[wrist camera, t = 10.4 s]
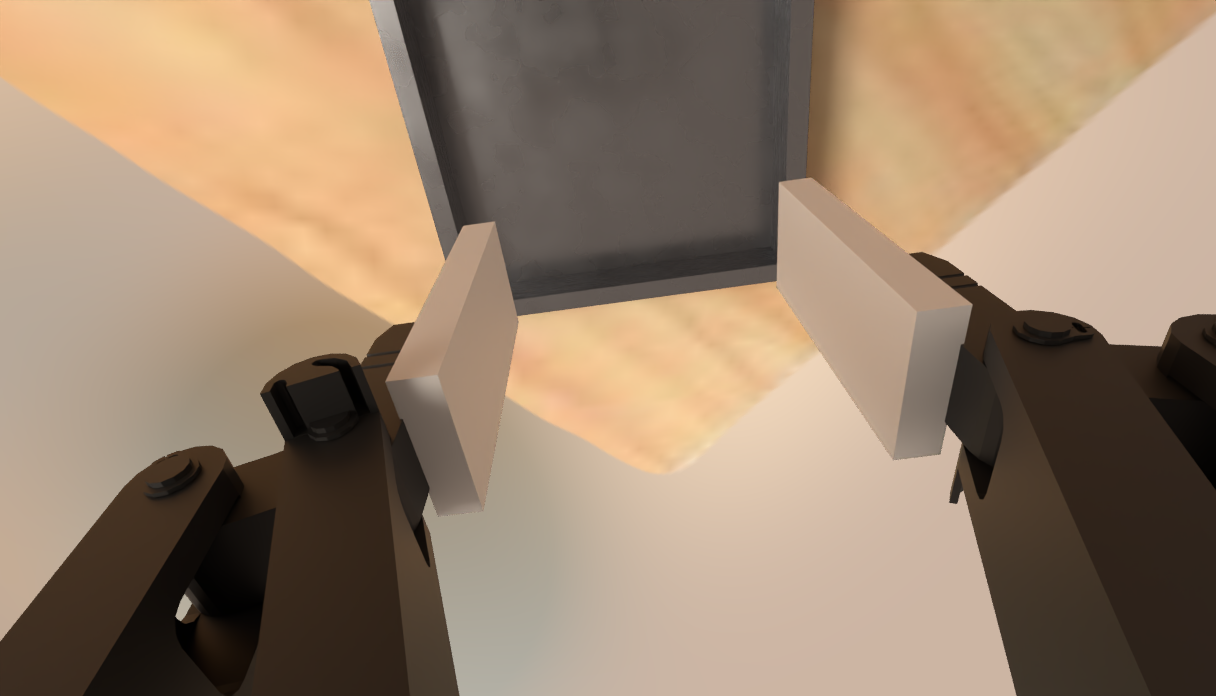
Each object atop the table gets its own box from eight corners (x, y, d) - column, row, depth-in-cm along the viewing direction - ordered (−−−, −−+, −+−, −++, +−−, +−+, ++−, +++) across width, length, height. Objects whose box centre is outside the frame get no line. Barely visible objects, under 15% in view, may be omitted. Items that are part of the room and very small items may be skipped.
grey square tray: (368, -84, 26) (341, -93, 23) (793, -150, 26) (822, -168, 23) (473, 295, 36) (463, 323, 33) (782, 253, 36) (801, 277, 33)
